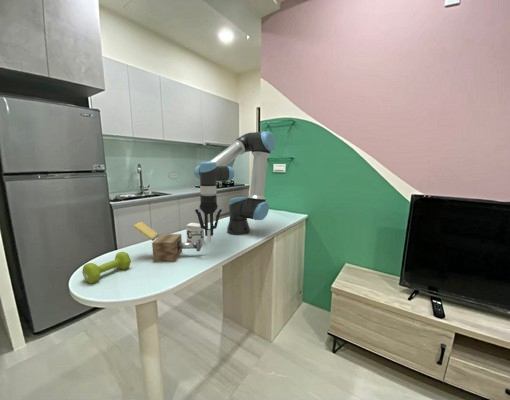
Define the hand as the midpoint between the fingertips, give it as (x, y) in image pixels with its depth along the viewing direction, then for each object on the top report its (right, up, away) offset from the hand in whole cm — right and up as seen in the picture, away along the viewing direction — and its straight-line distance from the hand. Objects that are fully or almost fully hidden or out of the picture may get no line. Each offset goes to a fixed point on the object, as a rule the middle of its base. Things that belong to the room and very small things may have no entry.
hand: (209, 242), depth 109 cm
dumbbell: (-38, -10, -17) cm, 43 cm away
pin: (-11, -4, 0) cm, 12 cm away
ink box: (-11, -5, +17) cm, 21 cm away
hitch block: (-20, -7, 0) cm, 21 cm away
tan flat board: (-30, +6, -3) cm, 30 cm away
